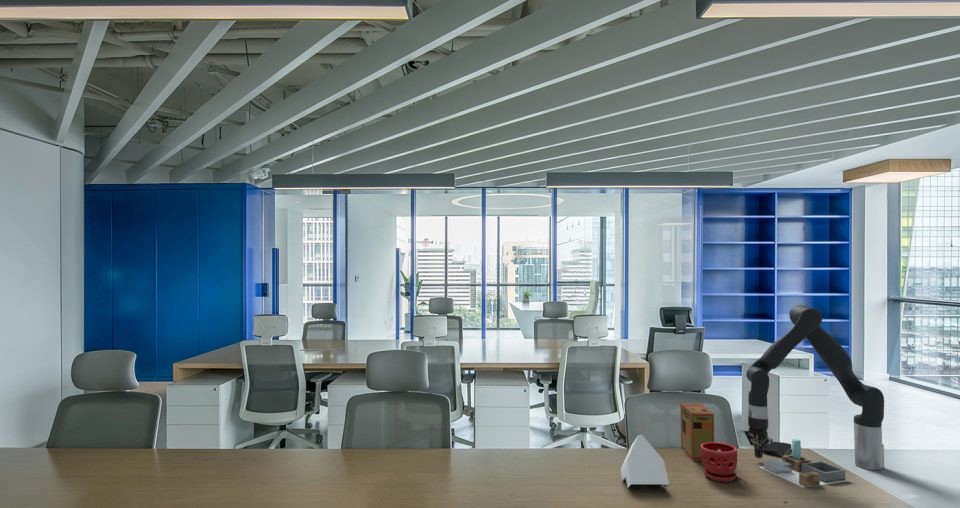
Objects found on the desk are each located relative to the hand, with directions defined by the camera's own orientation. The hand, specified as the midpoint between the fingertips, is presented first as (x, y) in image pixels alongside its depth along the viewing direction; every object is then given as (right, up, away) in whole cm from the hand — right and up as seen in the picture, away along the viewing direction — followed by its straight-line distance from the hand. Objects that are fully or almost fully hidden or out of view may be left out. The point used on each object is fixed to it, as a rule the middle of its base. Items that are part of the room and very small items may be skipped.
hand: (758, 457), depth 211 cm
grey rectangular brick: (+3, -1, -9) cm, 10 cm away
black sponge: (+16, -4, +13) cm, 21 cm away
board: (+10, -3, -13) cm, 16 cm away
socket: (+12, -2, -7) cm, 14 cm away
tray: (+17, -1, -15) cm, 23 cm away
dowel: (+12, -2, -7) cm, 14 cm away
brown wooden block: (+6, -1, -23) cm, 24 cm away
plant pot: (-23, -3, -13) cm, 26 cm away
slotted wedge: (-55, -3, -18) cm, 57 cm away
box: (-20, -4, +13) cm, 24 cm away
